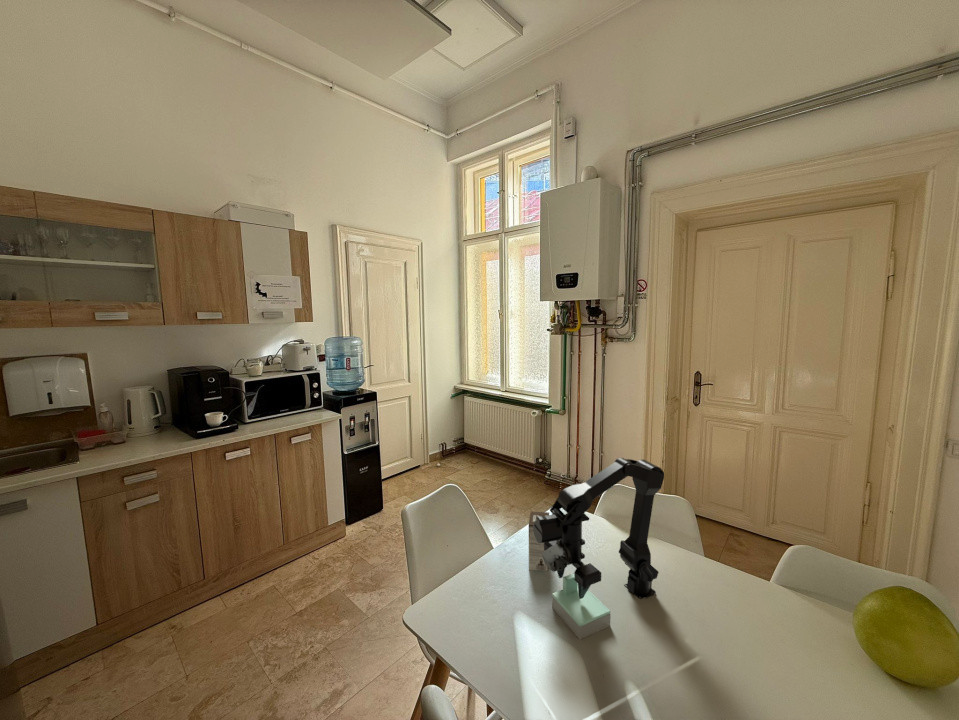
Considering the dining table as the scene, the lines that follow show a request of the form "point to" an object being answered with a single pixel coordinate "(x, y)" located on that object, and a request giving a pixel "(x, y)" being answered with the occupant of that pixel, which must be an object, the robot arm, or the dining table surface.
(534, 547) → the coffee box
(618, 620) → the dining table surface
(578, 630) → the tub
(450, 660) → the dining table surface
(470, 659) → the dining table surface
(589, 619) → the lid
